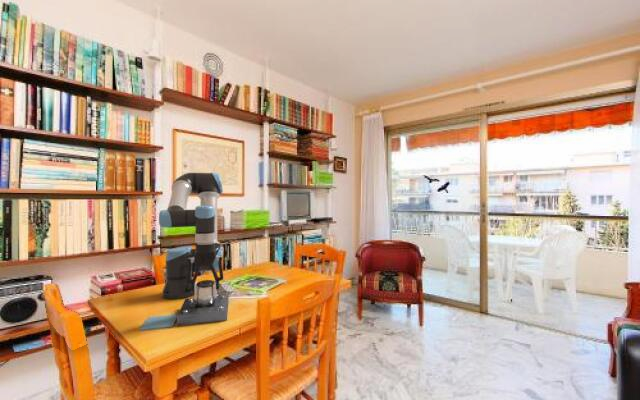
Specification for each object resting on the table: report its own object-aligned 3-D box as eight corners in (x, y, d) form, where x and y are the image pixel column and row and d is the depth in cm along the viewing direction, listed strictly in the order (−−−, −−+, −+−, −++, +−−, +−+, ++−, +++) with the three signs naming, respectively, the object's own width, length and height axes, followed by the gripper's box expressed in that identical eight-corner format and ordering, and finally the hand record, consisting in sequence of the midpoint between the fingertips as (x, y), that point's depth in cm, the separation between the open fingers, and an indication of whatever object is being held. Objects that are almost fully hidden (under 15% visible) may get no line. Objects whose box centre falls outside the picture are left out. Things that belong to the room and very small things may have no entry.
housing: (185, 308, 128) (185, 297, 127) (228, 303, 132) (228, 293, 132) (177, 325, 110) (177, 313, 110) (227, 320, 115) (226, 308, 115)
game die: (222, 307, 138) (210, 294, 133) (220, 295, 145) (209, 282, 140) (239, 297, 139) (228, 283, 134) (237, 286, 146) (226, 272, 141)
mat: (148, 318, 117) (148, 317, 117) (178, 315, 120) (178, 314, 120) (139, 330, 106) (139, 329, 106) (172, 327, 109) (172, 325, 109)
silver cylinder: (198, 308, 124) (197, 280, 124) (215, 307, 126) (214, 279, 125) (195, 315, 117) (195, 285, 117) (213, 313, 119) (213, 284, 119)
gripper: (177, 245, 114) (178, 303, 115) (229, 243, 120) (230, 298, 120) (181, 242, 122) (181, 297, 122) (230, 240, 127) (230, 292, 128)
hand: (205, 297), depth 121 cm, fingers closed on silver cylinder, 7 cm apart
